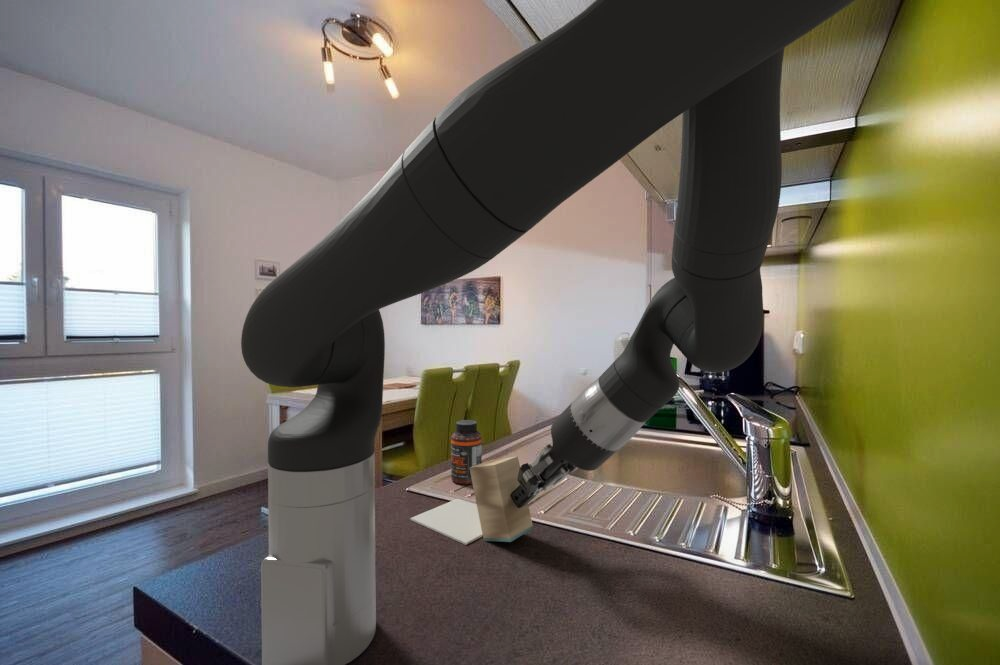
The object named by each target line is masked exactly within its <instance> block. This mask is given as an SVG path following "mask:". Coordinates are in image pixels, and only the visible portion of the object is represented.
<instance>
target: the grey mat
mask: <svg viewBox="0 0 1000 665" xmlns="http://www.w3.org/2000/svg"><path fill="white" fill-rule="evenodd" d="M410 521H411V522H414V523H416V524H418V525H420V526H423V527H425V528H428V529H429V530H432V531H434V532H437V534H440V535H443V536H445V537H447V538H449V539H452V540H453V541H455V542H456V541H457V542H459V543H461V544H462V545H465V546H466V545H469V544H471V543H473V542H474V541H476V540H478V539H480V538H482V537H483V534H482V529H481V524H480V519H479V514H478V509H477V504H476V503H475V504H474V503H471V502H469V501H467V500H463V499H460V498H456V499H453V500H451V501H449V502H448V501H447V502H446V503H443V504H441V505H439V506H437V507H434V508H432V509H429V510H426V511H424V512H422V513H420V514H417V515H415V516H412V517H410Z"/></svg>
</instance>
